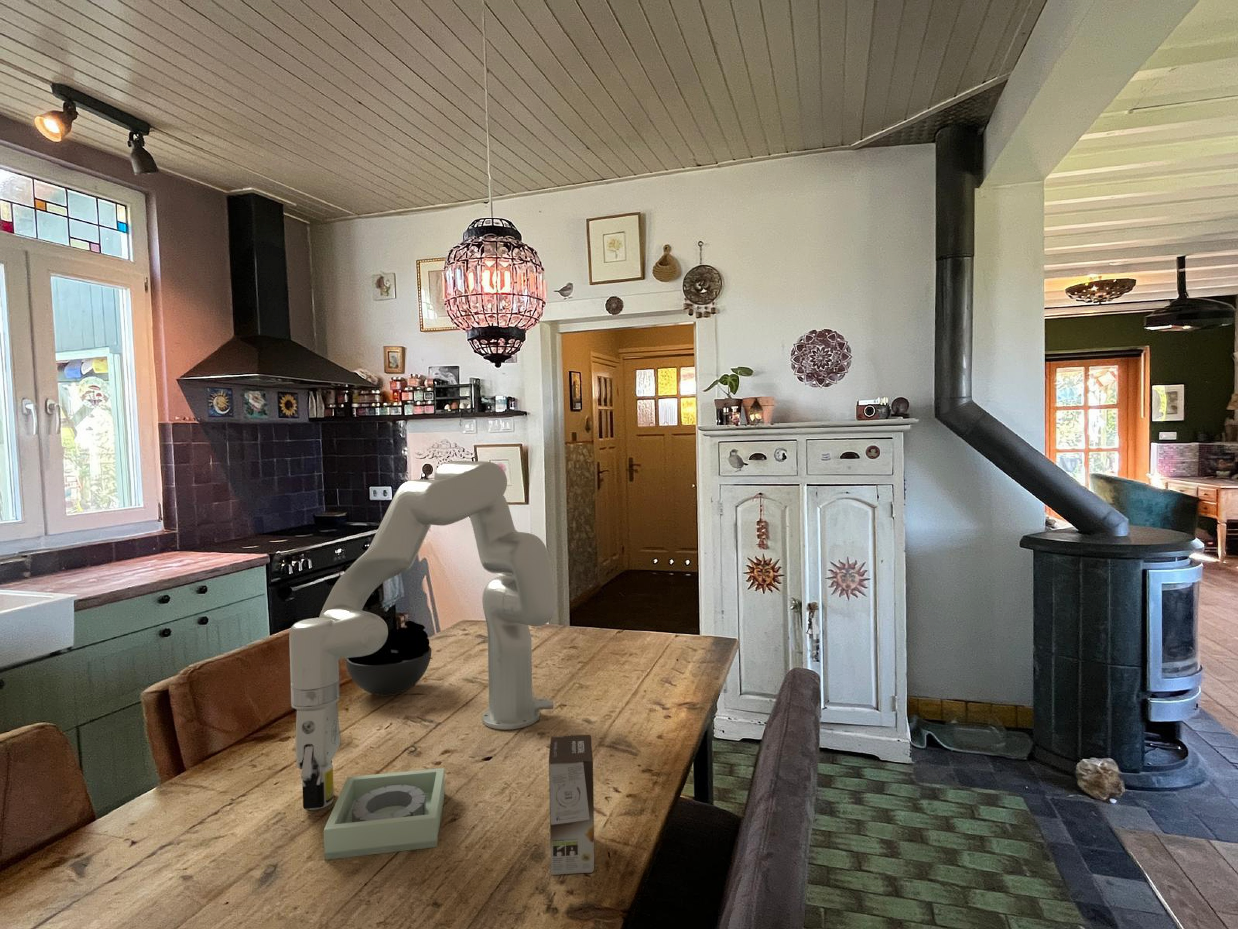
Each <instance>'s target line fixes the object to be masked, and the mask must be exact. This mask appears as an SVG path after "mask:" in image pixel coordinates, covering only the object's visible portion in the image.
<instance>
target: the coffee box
mask: <svg viewBox="0 0 1238 929" xmlns="http://www.w3.org/2000/svg"><path fill="white" fill-rule="evenodd" d="M592 744H593V743H592V736H591V734H573V735H571V734H570V735H563V736H551V737H550V742H549V754H548V755H549V756H548V776H549V778H548V779H549V781H548V782H549V787H548V788H549V790H548V792H549V836H550V837H549V839H550V842H549V843H550V875H552V876H554V875H555V876H556V875H557V876H559V875H569V874H570V875H571V874H572V875H573V874H585V873H586V874H587V873H589V874H590V873H593V872H594V870H595V813H594V812H595V808H594V807H595V806H594V805H595V804H594V803H595V799H594V795H595V794H594V758H593V757H594V756H593V747H592Z"/></svg>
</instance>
